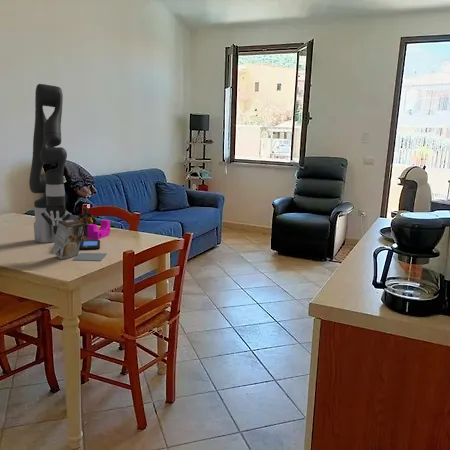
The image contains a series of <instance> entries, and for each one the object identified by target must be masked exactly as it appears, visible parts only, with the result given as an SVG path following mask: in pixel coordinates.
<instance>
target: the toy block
mask: <svg viewBox="0 0 450 450" xmlns="http://www.w3.org/2000/svg"><path fill="white" fill-rule="evenodd" d="M97 225H98V224H97V223H95V224H88V227H87V237H88V238H87V239H88V240H101V239H104V238H105V237H108V236H110V234H111V220H110V219H102V220H101V223H100V227H99V228H98V226H97Z"/></svg>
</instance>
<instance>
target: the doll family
mask: <svg viewBox="0 0 450 450" xmlns="http://www.w3.org/2000/svg"><path fill="white" fill-rule="evenodd" d="M82 211H83V213H79V214H78V216H76V219H78V220H80V221H81V222H83V223H84V224H85V225H84V230H83V234H82V238H85V239H86V238H87V239H89V238H88V237H87V227H88V224H97V223H98V221H97V219H96V216H93V215H92V213H91V212H89V208H88V207H87V206H85V207H83V208H82Z"/></svg>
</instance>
